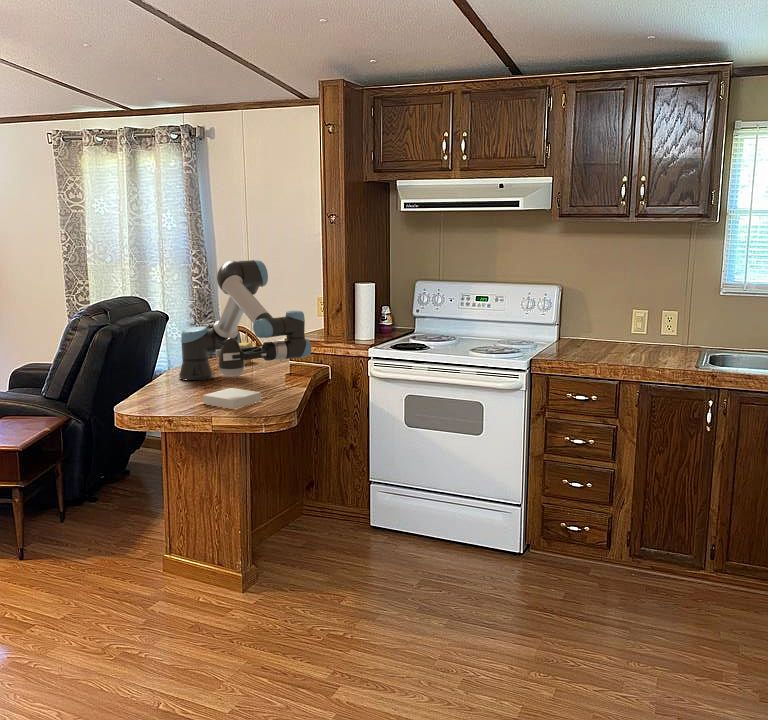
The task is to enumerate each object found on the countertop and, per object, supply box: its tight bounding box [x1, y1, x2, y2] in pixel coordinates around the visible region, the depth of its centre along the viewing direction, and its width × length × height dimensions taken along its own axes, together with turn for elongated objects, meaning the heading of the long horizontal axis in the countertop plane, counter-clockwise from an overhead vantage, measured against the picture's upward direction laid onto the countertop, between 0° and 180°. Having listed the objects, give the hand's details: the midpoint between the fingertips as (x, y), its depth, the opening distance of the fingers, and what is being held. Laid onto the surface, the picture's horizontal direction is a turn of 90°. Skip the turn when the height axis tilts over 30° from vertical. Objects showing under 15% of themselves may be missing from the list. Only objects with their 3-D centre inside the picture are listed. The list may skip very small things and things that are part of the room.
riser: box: [202, 387, 262, 410], centre depth 320 cm, size 16×16×4 cm
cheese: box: [239, 342, 252, 365], centre depth 408 cm, size 10×11×10 cm
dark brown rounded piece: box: [217, 338, 246, 378], centre depth 317 cm, size 10×10×15 cm
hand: (219, 355), depth 315 cm, fingers closed on dark brown rounded piece, 9 cm apart
